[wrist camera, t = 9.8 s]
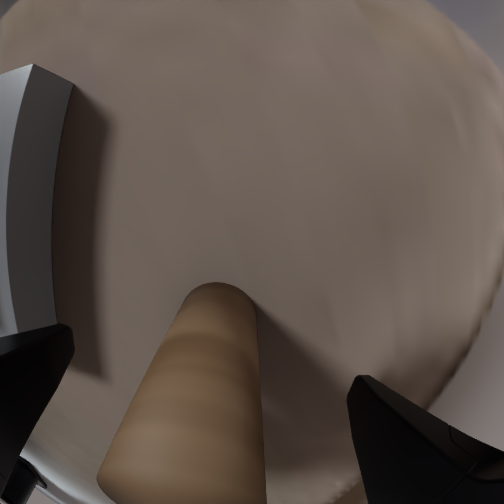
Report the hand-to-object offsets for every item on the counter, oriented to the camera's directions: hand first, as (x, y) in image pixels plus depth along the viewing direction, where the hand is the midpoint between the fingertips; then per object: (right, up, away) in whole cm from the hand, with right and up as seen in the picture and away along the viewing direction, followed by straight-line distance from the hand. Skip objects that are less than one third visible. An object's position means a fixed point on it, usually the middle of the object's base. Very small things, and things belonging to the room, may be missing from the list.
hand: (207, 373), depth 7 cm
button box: (-13, +6, +2) cm, 15 cm away
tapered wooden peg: (0, +1, +3) cm, 4 cm away
